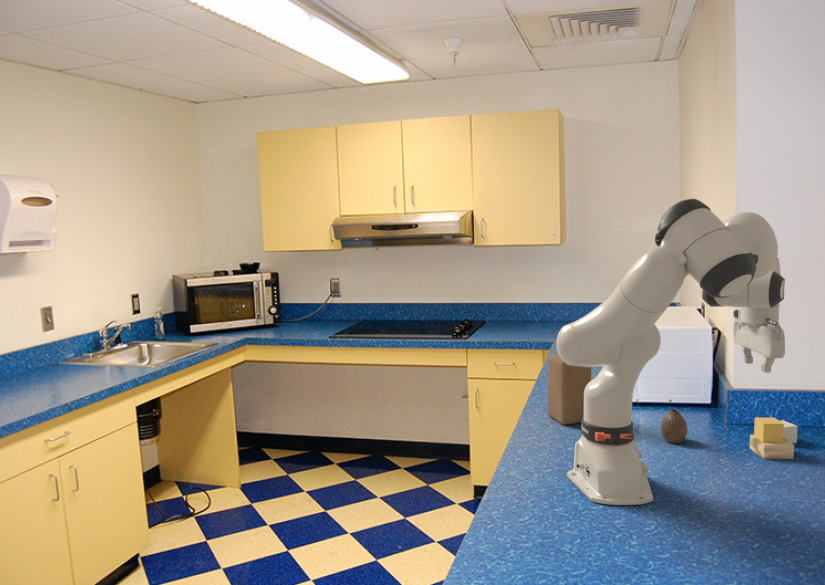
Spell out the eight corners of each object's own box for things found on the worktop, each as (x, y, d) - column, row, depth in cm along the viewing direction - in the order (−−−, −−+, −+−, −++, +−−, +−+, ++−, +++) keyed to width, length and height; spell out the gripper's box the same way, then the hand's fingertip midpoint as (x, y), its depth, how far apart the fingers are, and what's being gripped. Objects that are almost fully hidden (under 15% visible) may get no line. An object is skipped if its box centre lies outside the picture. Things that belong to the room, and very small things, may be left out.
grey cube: (796, 443, 174) (797, 425, 174) (781, 445, 173) (782, 427, 173) (782, 437, 179) (782, 420, 179) (767, 439, 178) (767, 421, 178)
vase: (665, 434, 183) (666, 405, 182) (690, 439, 179) (691, 409, 178) (657, 441, 178) (657, 411, 177) (682, 447, 174) (683, 415, 173)
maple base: (793, 459, 164) (794, 444, 164) (763, 459, 164) (764, 445, 164) (777, 449, 172) (778, 434, 171) (749, 449, 172) (750, 434, 171)
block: (562, 426, 192) (563, 361, 190) (547, 416, 202) (547, 354, 200) (592, 422, 195) (592, 358, 193) (575, 412, 205) (575, 351, 202)
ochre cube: (782, 442, 165) (783, 423, 165) (762, 442, 166) (763, 423, 165) (773, 435, 170) (774, 417, 170) (754, 435, 171) (754, 417, 170)
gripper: (793, 322, 156) (790, 377, 158) (752, 309, 176) (750, 358, 178) (767, 322, 156) (764, 377, 158) (729, 309, 177) (727, 358, 178)
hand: (756, 367), depth 168 cm, fingers open, 8 cm apart
